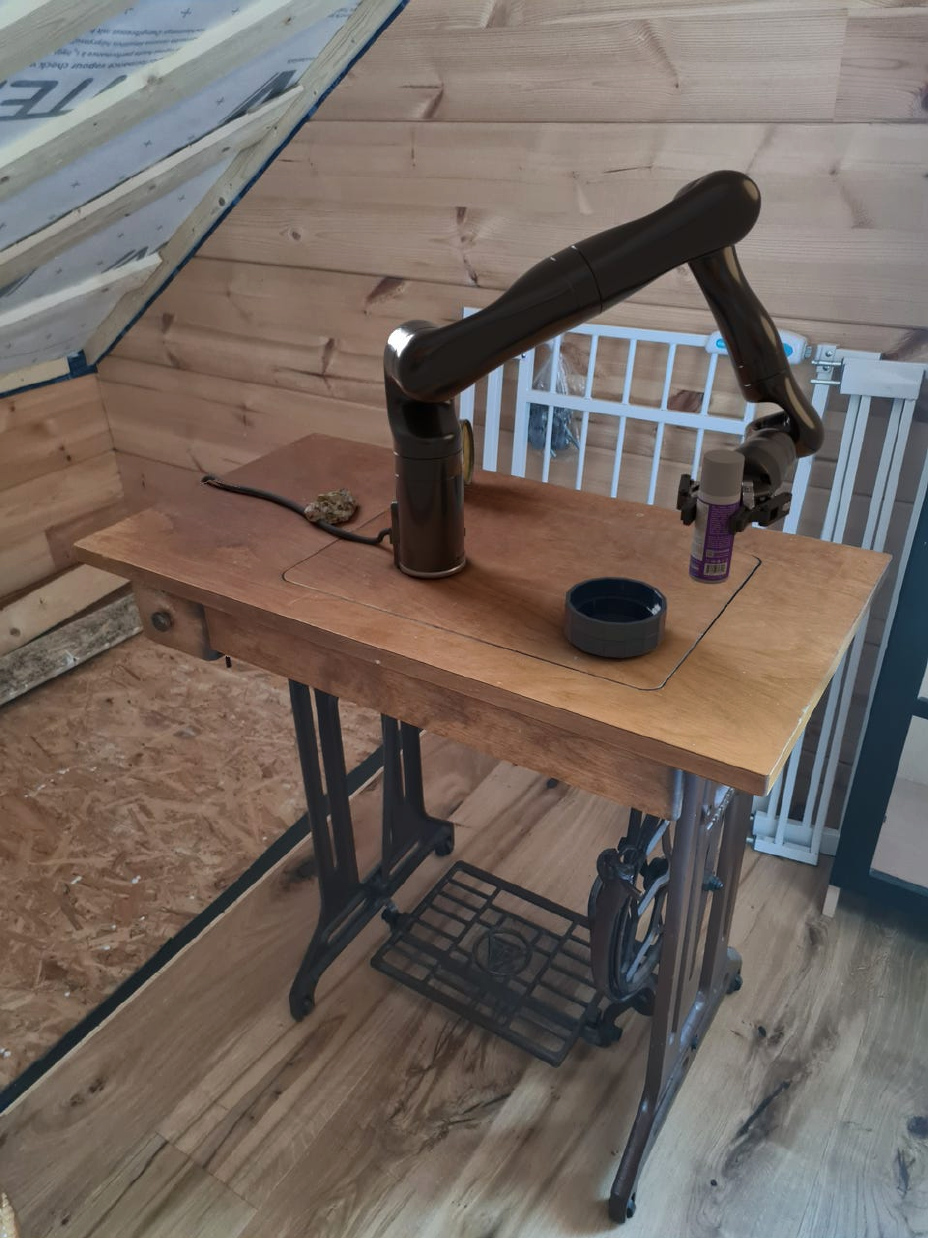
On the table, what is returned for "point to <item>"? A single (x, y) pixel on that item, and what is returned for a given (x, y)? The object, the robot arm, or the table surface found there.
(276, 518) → the table surface
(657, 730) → the table surface
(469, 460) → the alarm clock
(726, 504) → the container
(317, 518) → the mineral rock
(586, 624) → the bowl
